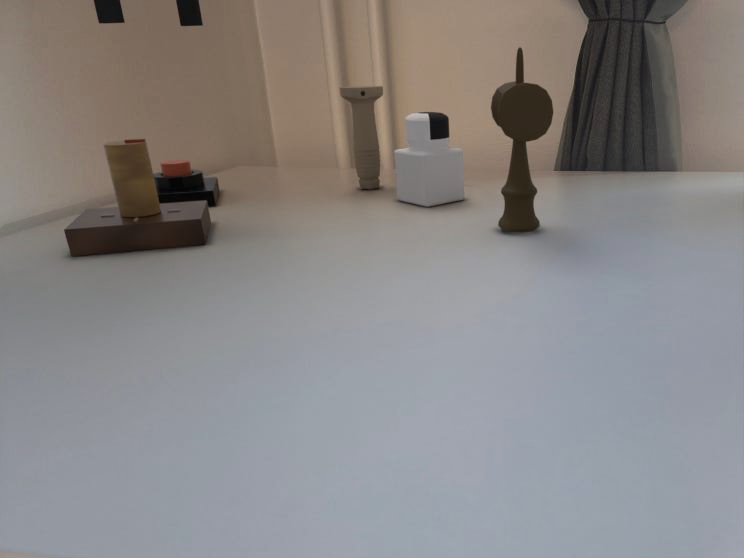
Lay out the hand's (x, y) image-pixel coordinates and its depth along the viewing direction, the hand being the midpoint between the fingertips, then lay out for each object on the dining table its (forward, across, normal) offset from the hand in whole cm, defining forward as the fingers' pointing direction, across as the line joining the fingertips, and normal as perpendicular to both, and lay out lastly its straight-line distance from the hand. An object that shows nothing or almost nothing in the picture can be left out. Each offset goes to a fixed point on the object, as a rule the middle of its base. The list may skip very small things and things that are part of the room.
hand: (154, 25), depth 79 cm
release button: (+19, +12, +11) cm, 25 cm away
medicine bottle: (+23, +18, -26) cm, 40 cm away
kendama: (+23, +4, -43) cm, 49 cm away
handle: (+23, +26, -14) cm, 37 cm away
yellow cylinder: (+20, -9, 0) cm, 22 cm away
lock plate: (+23, -9, 0) cm, 25 cm away
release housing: (+23, +12, +11) cm, 28 cm away
